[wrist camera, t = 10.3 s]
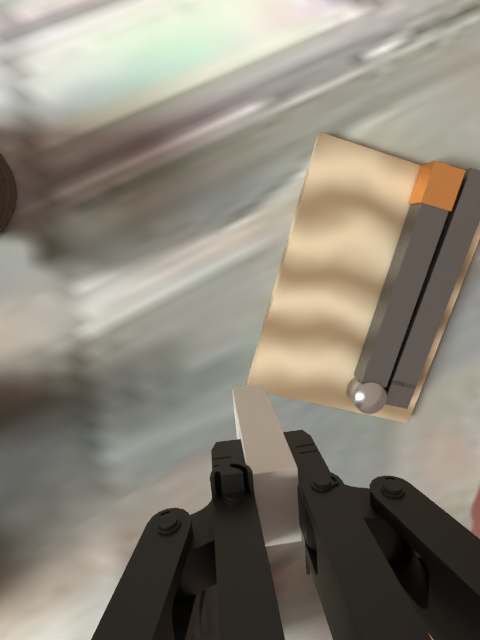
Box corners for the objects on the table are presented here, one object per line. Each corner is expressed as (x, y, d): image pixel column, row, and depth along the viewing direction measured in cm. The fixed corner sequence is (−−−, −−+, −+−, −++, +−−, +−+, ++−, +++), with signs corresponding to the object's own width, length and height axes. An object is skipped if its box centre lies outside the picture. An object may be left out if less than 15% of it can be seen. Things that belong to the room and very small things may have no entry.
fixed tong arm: (397, 400, 45) (407, 409, 43) (375, 395, 44) (383, 403, 42) (480, 179, 40) (496, 176, 38) (456, 171, 39) (471, 168, 37)
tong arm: (370, 405, 44) (380, 416, 42) (342, 400, 44) (351, 410, 41) (450, 174, 39) (468, 170, 36) (420, 164, 38) (436, 159, 36)
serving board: (401, 417, 47) (408, 423, 46) (246, 384, 44) (247, 389, 42) (487, 192, 42) (498, 191, 40) (317, 136, 38) (321, 132, 37)
